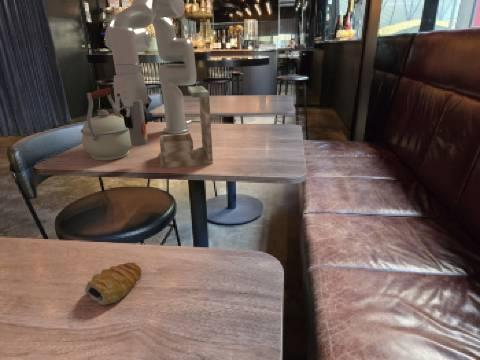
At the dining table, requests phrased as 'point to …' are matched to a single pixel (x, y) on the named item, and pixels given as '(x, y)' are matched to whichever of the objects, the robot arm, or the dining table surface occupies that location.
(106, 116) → the kettle
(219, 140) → the dining table surface
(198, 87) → the bottle holder
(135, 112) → the lotion bottle
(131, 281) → the pastry
